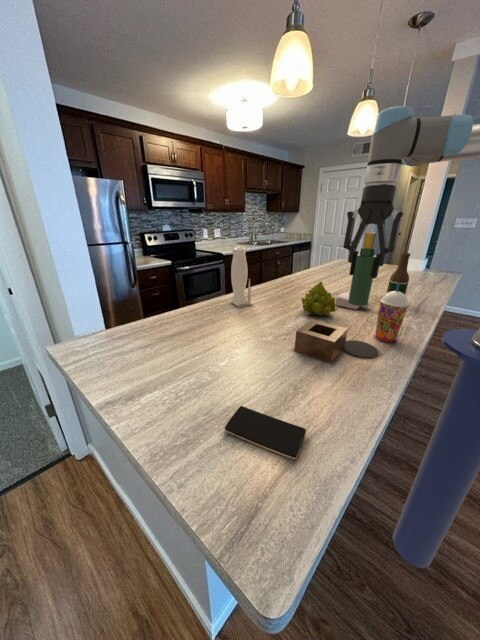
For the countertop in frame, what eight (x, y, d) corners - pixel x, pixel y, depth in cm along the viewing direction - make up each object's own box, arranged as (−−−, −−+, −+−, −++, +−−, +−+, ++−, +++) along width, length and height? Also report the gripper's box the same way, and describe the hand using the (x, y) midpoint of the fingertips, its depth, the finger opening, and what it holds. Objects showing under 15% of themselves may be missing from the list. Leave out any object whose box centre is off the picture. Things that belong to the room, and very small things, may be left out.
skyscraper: (236, 308, 119) (236, 244, 108) (227, 303, 125) (227, 242, 114) (251, 305, 123) (253, 243, 112) (242, 300, 129) (243, 241, 118)
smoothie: (367, 337, 93) (379, 282, 85) (379, 331, 97) (392, 278, 90) (391, 346, 87) (406, 288, 79) (403, 339, 91) (418, 283, 83)
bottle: (369, 302, 79) (384, 232, 71) (364, 307, 75) (379, 234, 67) (351, 299, 82) (363, 231, 74) (345, 303, 78) (357, 232, 70)
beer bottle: (406, 305, 125) (420, 254, 115) (392, 306, 123) (405, 254, 114) (394, 300, 132) (406, 251, 122) (380, 301, 130) (392, 251, 121)
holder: (344, 347, 85) (348, 328, 83) (331, 363, 77) (334, 342, 74) (309, 337, 92) (312, 319, 89) (294, 350, 83) (296, 330, 81)
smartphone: (239, 404, 58) (307, 428, 52) (239, 408, 59) (306, 433, 52) (223, 427, 52) (296, 457, 46) (223, 431, 52) (296, 462, 46)
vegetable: (317, 295, 124) (327, 274, 112) (335, 321, 116) (348, 301, 104) (290, 304, 121) (297, 282, 108) (306, 331, 113) (316, 311, 101)
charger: (368, 313, 114) (335, 305, 123) (375, 308, 120) (343, 301, 130) (370, 303, 112) (336, 296, 121) (377, 298, 118) (344, 291, 128)
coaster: (381, 348, 85) (381, 347, 85) (372, 362, 77) (373, 361, 77) (347, 338, 92) (347, 337, 92) (336, 350, 84) (336, 349, 84)
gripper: (338, 185, 69) (326, 273, 78) (421, 181, 58) (396, 283, 67) (347, 187, 74) (335, 269, 83) (424, 184, 64) (401, 278, 73)
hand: (363, 275), depth 75 cm, fingers closed on bottle, 5 cm apart
